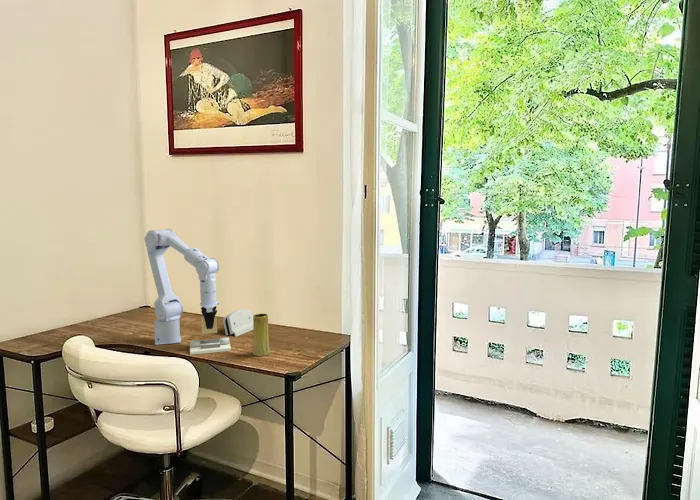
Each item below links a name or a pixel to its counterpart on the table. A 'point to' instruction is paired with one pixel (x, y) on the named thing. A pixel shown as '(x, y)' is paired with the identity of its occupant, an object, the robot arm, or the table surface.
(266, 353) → the vase
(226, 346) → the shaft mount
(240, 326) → the hinge
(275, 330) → the table surface
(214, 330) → the coupler
